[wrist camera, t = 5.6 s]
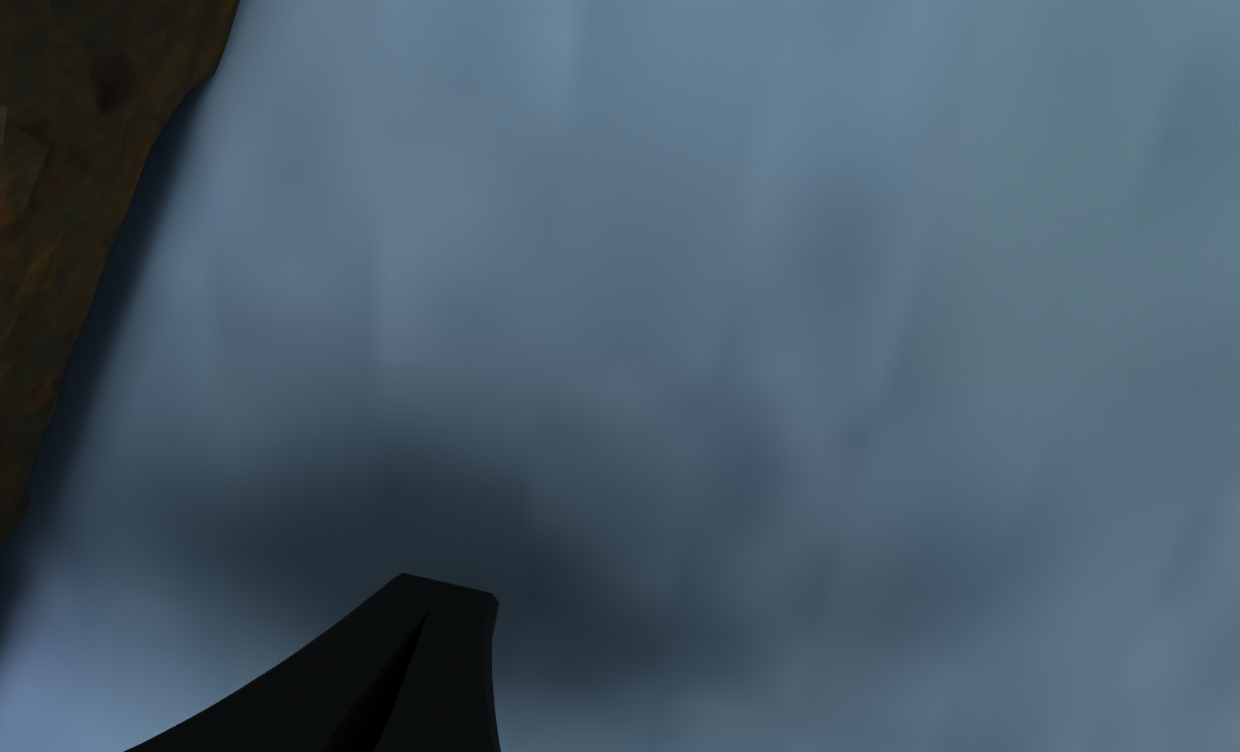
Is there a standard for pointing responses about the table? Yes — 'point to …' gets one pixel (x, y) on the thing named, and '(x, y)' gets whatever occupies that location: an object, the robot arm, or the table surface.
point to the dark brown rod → (76, 178)
